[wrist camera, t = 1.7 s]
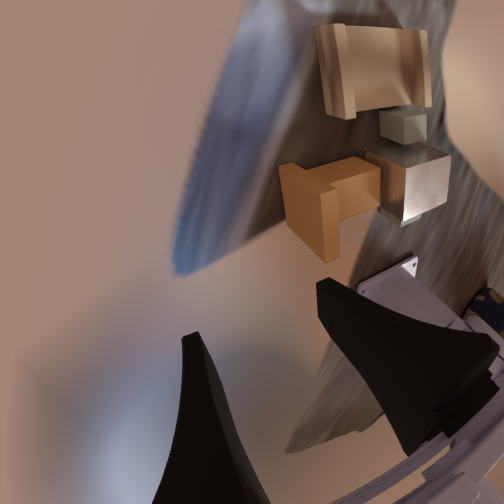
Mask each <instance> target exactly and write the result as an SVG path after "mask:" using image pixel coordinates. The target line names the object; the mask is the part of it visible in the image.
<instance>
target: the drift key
mask: <svg viewBox="0 0 504 504" xmlns="http://www.w3.org/2000/svg"><path fill="white" fill-rule="evenodd" d="M278 169H279V176H280V182H281V188H282V195H283V201H284V208H285V214H286V221H287V225H288V227H290V228H291V230H292V231H294V232H295V234H296V235H298V236H299V237H300V238H301V239H302V240H303V241H304V242H305V243H306V244H307V245H308V246H309V247H310V248H311V249H312V250H313V251H314V252H315V254H317V256H318V257H320V259H321V260H322V261H323V262H325V263H327V262H329V261H331V260H334V259H336V258H338V257H339V227H338V226H339V224H338V222H339V221H341V220H344V219H346V218H349V217H352V216H354V215H357V214H359V213H362V212H365V211H367V210H370V209H372V208H375V207H378V206H380V168H379V167H377V166H375V165H373V164H371V163H369V162H366V161H364V160H362V159H360V158H358V157H355V156H353V157H350V158H346V159H342V160H339V161H335V162H332V163H328V164H325V165H321V166H318V167H314V168H311V169H307V170H305V169H303V168H301V167H299V166H298V165H296V164H294V163H292V162H291V163H288V164H284V165H281V166H278Z"/></svg>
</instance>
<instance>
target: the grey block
mask: <svg viewBox="0 0 504 504" xmlns="http://www.w3.org/2000/svg"><path fill="white" fill-rule="evenodd" d="M357 148H358V158H360V159H362V160H364V161H366V162H369V163H371V164H373V165H375V166H377V167H379V168H380V207H381V208H383V209H384V210H386V211H387V212H389V213H391V214H392V215H394V216H395V217H397V218H398V219H400V220H401V221H405V220H408V219H410V218H412V217H414V216H417V215H419V214H421V213H423V212H426V211H428V210H430V209H432V208H434V207H437V206H439V205H441V204H443V203H445V202H446V201H447V193H448V184H449V175H450V163H451V155H450V154H448V153H445V152H443V151H440V150H438V149H435V148H433V147H430V146H428V145H425V144H423V143H420V142H414V143H410V144H406V145H403V144H401V143H398V142H395V141H393V140H386V141H382V142H378V143H374V144H370V145H365V146H361V147H357Z"/></svg>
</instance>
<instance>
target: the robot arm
mask: <svg viewBox="0 0 504 504" xmlns="http://www.w3.org/2000/svg"><path fill="white" fill-rule="evenodd" d="M417 262H418V257H417V256H415V255H414V256H412V257H410V258H408V259H406V260H404V261H402V262H400V263H399V264H397V265H395V266H393V267H391V268H389V269H387V270H385V271H383V272H381V273H379V274H377V275H375V276H373V277H371V278H369V279H367V280H365V281H363V282H361V283H360V284H359V285H358V288H357V292H355V291H353V290H351V289H350V288H348V287H346V286H344V285H343V284H341V283H339V282H337V281H335V280H334V279H332V278H330V277H328V278H326V279H324V280H321V281H319V282H317V283H316V290H317V307H318V317H319V319H320V321H321V322H322V324H323V326H324V327H325V329H326V331H327V332H328V334H329V336H330V337H331V338H332V339H333V341H334V342H335V343H336V345H337V346H338V347H339V348H340V350H341V351H342V352H343V353H344V354H345V356H346V357H347V358H348V359H349V361H350V362H351V363H352V364H353V366H354V367H355V368H356V369H357V370H358V372H359V373H360V374H361V376H362V377H363V378H364V380H365V381H366V383H367V385H368V386H369V388H370V389H371V391H372V393H373V394H374V396H375V397H376V399H377V401H378V403H379V404H380V406H381V408H382V409H383V411H384V413H385V415H386V417H387V418H388V420H389V422H390V424H391V426H392V428H393V430H394V432H395V434H396V436H397V438H398V440H399V442H400V444H401V446H402V449H403V451H404V452H405V454H406V455H407V456H408V458H406V459H405V460H403V461H402V462H401V463H399V464H398V465H396V466H395V467H393V468H392V469H390V470H388V471H387V472H385V473H384V474H382V475H380V476H379V477H377V478H375V479H374V480H372V481H371V482H369V483H367V484H365V485H364V486H362V487H360V488H358V489H357V490H355V491H353V492H351V493H349V494H347V495H346V496H343V497H341V498H339V499H338V500H336V501H334V502H332V503H329V504H363V503H365V502H367V501H369V500H370V499H372V498H374V497H375V496H377V495H378V494H380V493H382V492H383V491H385V490H387V489H388V488H390V487H392V486H393V485H395V484H396V483H398V482H399V481H401V480H402V479H404V478H405V477H407V476H408V475H410V474H411V473H412V472H414V471H415V470H416V469H418V468H419V467H421V466H422V465H423V464H425V463H426V462H427V461H429V460H430V459H431V458H433V457H434V456H435V455H436V454H438V453H439V452H440V451H441V450H442V449H443V448H445V447H446V446H447V445H449V443H450V450H449V451H448V452H447V453H446V454H445V455H444V456H443V457H441V458H440V459H439V460H437V461H436V462H435V463H434V464H432V465H431V466H430V467H429V468H427V469H426V470H425V471H423V472H422V475H423V477H424V478H425V479H426V481H425V482H424V483H423V484H421V485H420V486H418V487H417V488H416V489H414V490H413V491H411V492H410V493H408V494H407V495H405V496H404V497H402V498H401V499H399V500H398V501H396V502H394V503H393V504H504V500H503V498H502V497H501V496H500V494H499V493H498V491H497V490H496V489H495V487H494V486H493V485H492V483H491V482H490V481H489V479H488V478H487V477H486V475H487V474H488V473H489V472H490V470H491V469H492V468H493V467H494V466H495V465H496V463H497V462H498V461H499V460H500V459H501V457H502V458H503V459H504V339H503V338H502V337H501V336H500V335H498V334H497V333H496V332H495V331H494V330H493V329H492V328H491V327H490V326H489V325H488V324H487V323H486V322H484V321H483V320H482V319H481V318H480V317H479V316H477V315H476V316H469V317H468V318H467V320H466V321H464V320H463V319H461V318H460V317H458V316H457V315H456V314H455V313H454V312H453V311H452V310H451V309H450V308H449V307H448V306H446V305H445V304H444V303H443V302H442V301H441V300H440V299H439V298H438V297H436V296H435V295H434V294H433V293H432V292H431V291H430V290H428V289H427V288H426V287H425V286H424V285H423V284H422V283H420V282H419V281H418V280H417V279H416V278H415V273H416V267H417ZM181 340H182V351H183V352H182V358H183V360H182V362H183V363H182V384H181V395H180V403H179V412H178V418H177V423H176V428H175V434H174V438H173V442H172V446H171V450H170V454H169V458H168V461H167V464H166V467H165V470H164V473H163V476H162V479H161V482H160V485H159V487H158V490H157V492H156V495H155V497H154V500H153V502H152V504H271V503H270V501H269V499H268V498H267V495H266V494H265V492H264V490H263V488H262V486H261V484H260V482H259V480H258V478H257V476H256V474H255V472H254V470H253V468H252V465H251V463H250V461H249V459H248V457H247V455H246V452H245V450H244V448H243V446H242V444H241V442H240V439H239V436H238V434H237V431H236V428H235V425H234V422H233V418H232V415H231V412H230V409H229V405H228V402H227V399H226V396H225V392H224V389H223V385H222V382H221V380H220V377H219V375H218V372H217V370H216V367H215V365H214V362H213V360H212V358H211V356H210V354H209V353H208V350H207V348H206V346H205V344H204V342H203V340H202V338H201V336H200V334H199V332H198V331H197V332H194V333H192V334H189V335H186V336H183V338H182V339H181ZM500 374H501V375H500ZM499 375H500V376H499ZM498 377H499V378H498ZM497 378H498V379H497ZM496 379H497V380H496ZM495 380H496V381H495ZM494 381H495V382H494Z"/></svg>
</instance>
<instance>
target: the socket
mask: <svg viewBox="0 0 504 504" xmlns="http://www.w3.org/2000/svg"><path fill="white" fill-rule="evenodd" d="M379 122H380V136H382V137H384V138H387V139H390V140H393V141H395V142H398V143H401V144H403V145H406V144H410V143H414V142H419V141H423V140H426V114H424V113H421V112H417V111H413V110H410V109H406V108H402V107H401V108H394V109H387V110H380V111H379ZM380 214H382V215H383V216H385V217H386V218H388V219H389V220H391V221H392V222H394V223H395V224H397V225H398V226H400V227H402V226H404V225H407V224H409V223H411V222H413V221H415V220H418V219H420V218H421V214H419V215H417V216H414V217H412V218H410V219H408V220H405V221H401V220H400V219H398V218H397V217H395V216H394V215H392V214H391V213H389V212H387V211H386V210H384V209H383V208H381V207H380Z"/></svg>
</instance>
